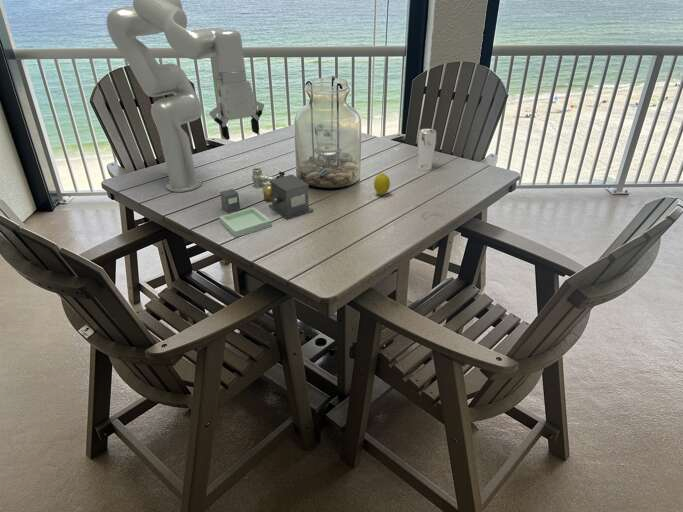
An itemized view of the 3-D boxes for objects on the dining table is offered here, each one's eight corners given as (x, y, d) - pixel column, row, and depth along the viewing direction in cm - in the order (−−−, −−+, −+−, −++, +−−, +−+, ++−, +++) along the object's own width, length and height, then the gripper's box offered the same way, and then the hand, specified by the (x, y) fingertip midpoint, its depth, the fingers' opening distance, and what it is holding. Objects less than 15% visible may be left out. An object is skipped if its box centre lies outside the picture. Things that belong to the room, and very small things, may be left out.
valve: (249, 188, 167) (279, 192, 163) (247, 171, 163) (277, 175, 160) (257, 182, 172) (286, 185, 169) (255, 165, 168) (285, 168, 165)
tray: (220, 222, 144) (219, 216, 142) (254, 212, 149) (253, 206, 148) (236, 237, 135) (235, 231, 134) (271, 226, 141) (271, 220, 140)
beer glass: (435, 166, 184) (439, 130, 176) (428, 172, 179) (432, 134, 171) (419, 163, 187) (423, 127, 179) (412, 168, 182) (415, 131, 174)
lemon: (391, 193, 162) (392, 171, 158) (386, 198, 158) (387, 177, 154) (377, 190, 164) (377, 169, 160) (371, 196, 160) (372, 174, 156)
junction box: (265, 207, 152) (262, 181, 147) (294, 199, 158) (292, 173, 153) (282, 220, 144) (280, 193, 139) (313, 211, 150) (311, 184, 145)
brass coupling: (262, 199, 158) (260, 185, 156) (272, 196, 160) (271, 183, 158) (267, 203, 156) (266, 189, 153) (277, 200, 158) (276, 186, 155)
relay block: (222, 208, 152) (219, 192, 149) (234, 205, 155) (232, 188, 151) (228, 213, 149) (225, 196, 146) (240, 209, 151) (238, 193, 148)
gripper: (209, 83, 125) (219, 144, 134) (265, 75, 133) (271, 133, 142) (199, 79, 130) (210, 138, 139) (254, 72, 138) (260, 128, 147)
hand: (241, 135), depth 140 cm, fingers open, 9 cm apart
